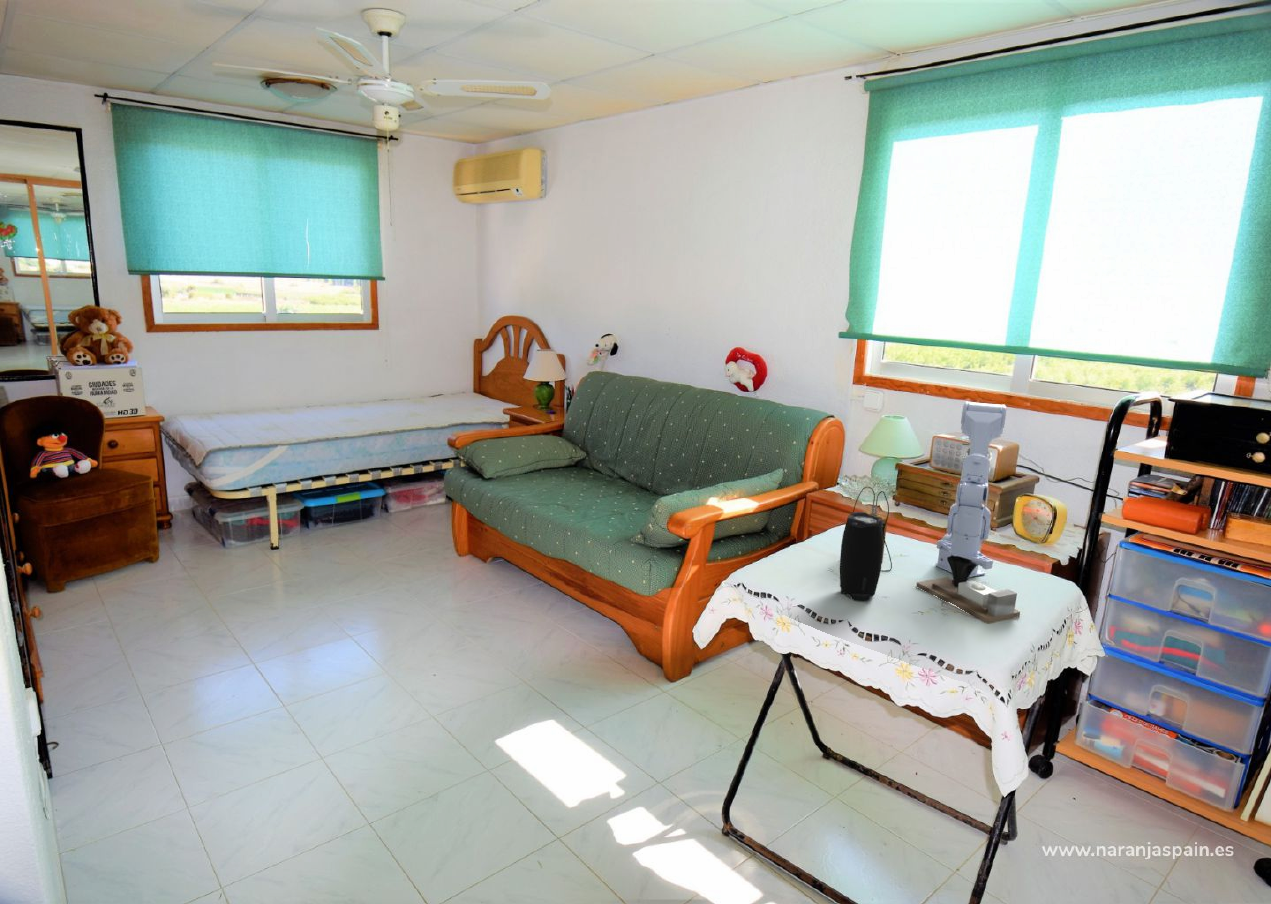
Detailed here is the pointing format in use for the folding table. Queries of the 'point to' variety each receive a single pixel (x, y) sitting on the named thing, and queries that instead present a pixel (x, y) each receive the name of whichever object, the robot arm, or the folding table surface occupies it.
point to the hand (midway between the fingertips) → (959, 586)
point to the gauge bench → (997, 603)
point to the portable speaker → (861, 555)
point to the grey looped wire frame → (882, 521)
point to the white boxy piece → (974, 592)
